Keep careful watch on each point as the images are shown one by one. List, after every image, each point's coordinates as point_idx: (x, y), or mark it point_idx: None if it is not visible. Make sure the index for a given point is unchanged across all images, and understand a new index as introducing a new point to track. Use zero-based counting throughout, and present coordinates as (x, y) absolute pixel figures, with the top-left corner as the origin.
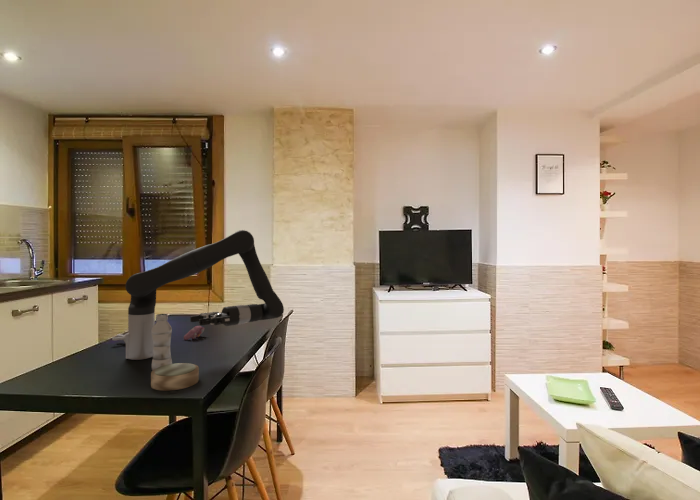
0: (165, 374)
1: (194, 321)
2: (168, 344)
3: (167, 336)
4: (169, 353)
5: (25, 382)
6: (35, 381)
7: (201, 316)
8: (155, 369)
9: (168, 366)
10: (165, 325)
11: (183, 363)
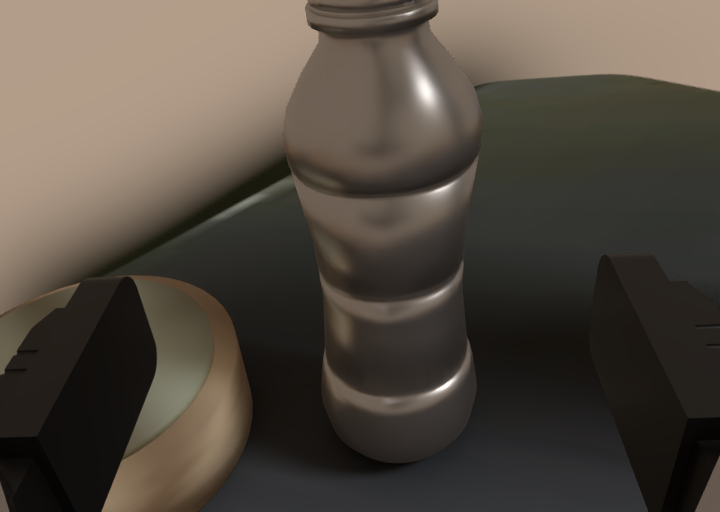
0: (25, 305)
1: (606, 390)
2: (326, 274)
3: (299, 196)
4: (342, 349)
5: (596, 95)
6: (592, 106)
7: (706, 471)
8: (173, 287)
9: (162, 345)
10: (300, 81)
11: (133, 432)
